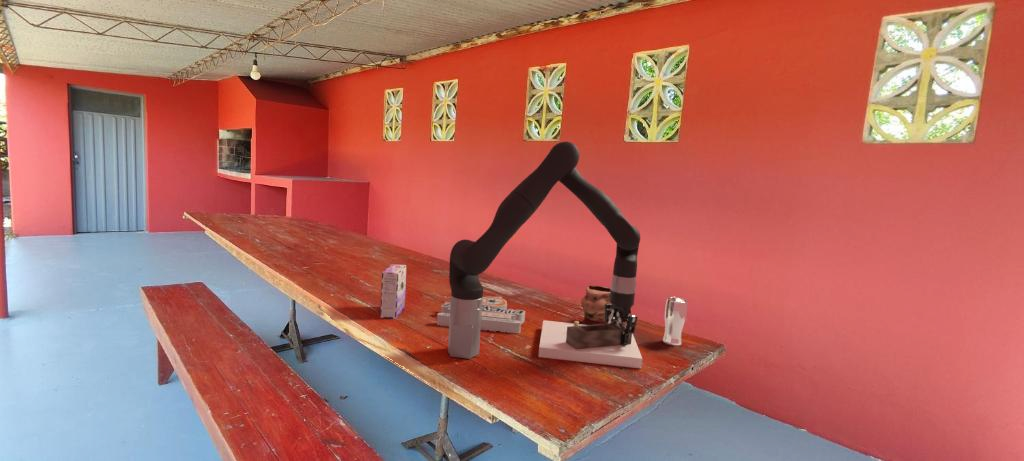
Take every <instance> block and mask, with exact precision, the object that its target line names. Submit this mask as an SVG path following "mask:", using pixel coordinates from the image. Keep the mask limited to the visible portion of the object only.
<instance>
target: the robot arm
mask: <svg viewBox="0 0 1024 461" xmlns="http://www.w3.org/2000/svg"><path fill="white" fill-rule="evenodd" d="M579 159H580V152H579V149H578V147H577V146H576V144H575V143H573V142H570V141H560V142H558V143H556V144H555V145H553V146H552V148H551V149H550V151H549V152H548V154H547V155H546V156H545V157H544V159H543V160H542V162H541V163H540V164H539V165H538V166H537V168H535V169H534V170H533V172H531V173H530V174H529V175H527V176H526V177H525V179H523V180H522V181H521V182H520V183H519V184H518V185H517V186H516V187H515V188H514V189H512V190H511V191H510V192H509V194H508V195H507V196H506V197H505V198H504V199H503V200H502V202H501V203H500V204H499V206H498V208H497V209H496V211H495V214H494V218H493V220H492V223H491V224H490V226H489V227H488V229H486V231H485V232H484V233H483V234H482V235H481V236H479V238H477V240H475V241H473V240H470V239H461V240H458V241H457V242H456V243H455V244H454V245H453V247H451V251H450V254H449V255H450V256H449V269H448V272H449V276H448V278H449V280H448V281H449V282H448V283H449V287H450V289H451V291H450V292H451V293H450V302H451V305H450V322H449V326H448V341H447V342H448V345H447V353H448V354H449V357H452V358H462V359H469V360H471V359H473V358H474V357H477V356H479V354H480V344H481V331H482V330H481V316H482V302H483V297H484V287H483V285H482V283H481V281H480V278H479V275H481V274H483V273H484V272H485V271H486V270H487V269H488V268H489V267H490V266H491V264H492V263H493V261H494V260H495V259H496V257H497V256H498V255H499V253H500V252H501V250H502V249H503V248H504V246H506V244H507V243H508V242H509V240H510V239H512V237H513V236H514V235H515V234H516V233H517V232H518V231H519V229H521V227H522V226H523V225H524V224H525V223H527V221H528V220H529V219H530V218H531V217H532V216H533V214H534V213H535V212H536V211H537V210H538V209H539V207H540V206H541V205H542V203H543V202H544V201H545V200H546V198H547V197H548V195H549V193H550V192H551V191H552V189H553V188H554V187H555V185H556V184H557V183H558V182H559V183H561V184H562V185H563V186H564V187H565V188H566V189H568V190H569V192H571V193H572V194H573V195H574V196H575V197H576V198H578V200H579V201H581V203H582V204H583V205H584V206H585V207H586V208H587V209H588V210H589V211H590V213H591V214H592V215H593V217H595V218H596V219H597V220H598V221H599V223H600V224H601V225H602V226H603V227H604V228H605V229H606V230H607V232H608V234H610V236H611V237H612V239H613V240H614V242H615V243H616V251H615V254H616V255H615V257H614V263H613V272H612V276H611V281H610V288H611V290H610V300H609V302H610V303H611V304H605V322H607V323H619V326H620V327H621V330H622V334H621V343H620V344H621V345H622V346H623V345H627V344H628V338H629V334H633V335H634V334H635V332H636V328H637V327H636V325H637V321H638V315H636V314H635V315H634V314H632V311H631V308H632V307H633V306H634V305H635V298H636V297H635V295H636V287H637V271H638V253H639V247H640V242H641V233H640V231H639V229H638V228H637V227H636V226H634V225H632V224H631V222H629V221H628V220H627V218H626V217H625V216H624V215H623V213H622V211H621V209H620V208H619V207H618V206H617V205H616V203H614V202H613V200H612V199H611V197H609V196H608V195H607V194H606V193H604V191H603V190H601V189H599V188H598V187H596V186H595V185H593V184H592V183H590V182H589V181H588V180H587V179H585V178H584V177H583V176H582V174H581V173H580V172H579V171H578V169H577V168H576V167H577V165H578V164H579V161H580V160H579ZM608 315H610V317H609V318H608ZM624 326H626V330H625V327H624ZM630 328H631V330H630Z"/></svg>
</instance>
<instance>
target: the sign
mask: <svg viewBox="0 0 1024 461" xmlns="http://www.w3.org/2000/svg"><path fill="white" fill-rule="evenodd" d="M507 302H508V301H507V300H506V299H504V298H503V297H502V296H483V302H482V316H481V331H487V330H489V331H488V332H496V331H500V332H499V333H506V332H507V334H515V333H516V334H517V333H519V334H521V330H522V324H524V322H525V320H526V310H522V309H515V310H514V309H513V308H509V309H508V308H507V307H508V303H507ZM450 305H451V301H445V302H444V304H442V305H441V308H440V312H438V313H436V314H437V316H436V325H437V326H439V325H440V326H441V327H449V322H450ZM516 334H515V335H516ZM517 335H518V334H517Z"/></svg>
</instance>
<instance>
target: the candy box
mask: <svg viewBox="0 0 1024 461" xmlns="http://www.w3.org/2000/svg"><path fill="white" fill-rule="evenodd" d="M406 279H407V265H406V264H396V263H392V264H390V265H389V266H388V267H387V268H385V269H384V270H382V272H381V287H380V289H381V290H380V308H379V309H380V311H379V313H380V314H379V318H381V319H388V320H389V319H393V320H396V319H397V318H398V317H399V316H400V314H401V313H402V312H403V310H404V309H405V307H406V306H405V305H406V289H407V288H406V286H407V284H406V282H407V280H406Z"/></svg>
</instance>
